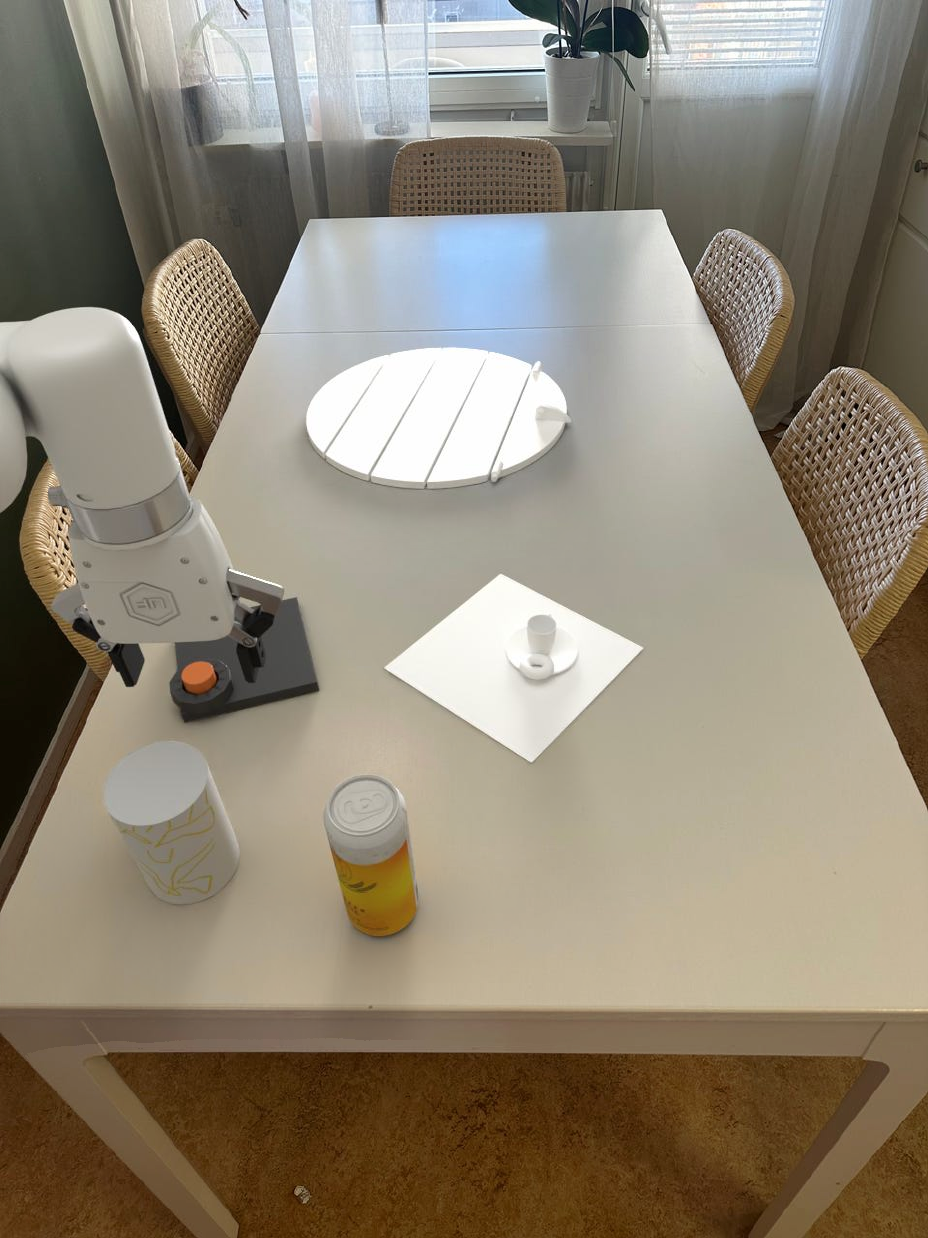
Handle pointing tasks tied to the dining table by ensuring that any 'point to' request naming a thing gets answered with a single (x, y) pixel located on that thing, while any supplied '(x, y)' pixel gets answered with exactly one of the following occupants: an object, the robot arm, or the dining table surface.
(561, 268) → the dining table surface
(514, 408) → the lazy susan
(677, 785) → the dining table surface
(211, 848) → the cup
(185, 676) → the power button
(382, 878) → the beer can
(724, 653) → the dining table surface
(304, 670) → the scale
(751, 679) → the dining table surface
